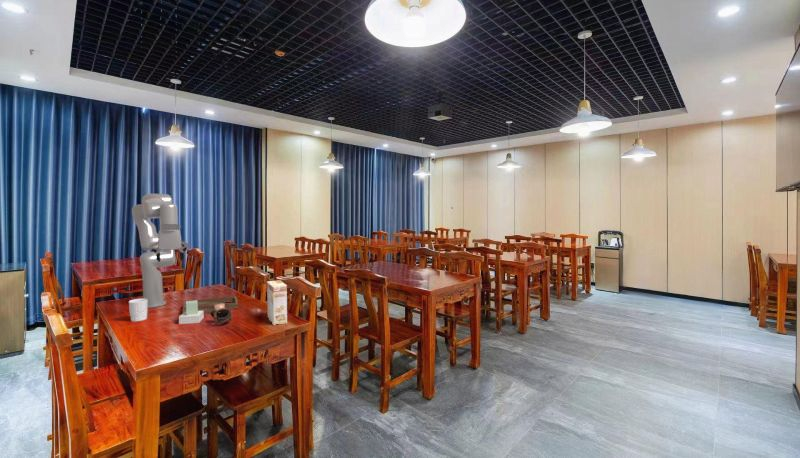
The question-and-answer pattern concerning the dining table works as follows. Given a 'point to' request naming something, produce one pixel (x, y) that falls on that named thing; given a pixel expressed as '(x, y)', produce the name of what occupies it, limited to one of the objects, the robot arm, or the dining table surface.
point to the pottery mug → (221, 315)
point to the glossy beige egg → (219, 306)
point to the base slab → (191, 318)
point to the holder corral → (214, 301)
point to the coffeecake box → (277, 302)
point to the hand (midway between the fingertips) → (170, 260)
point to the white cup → (138, 309)
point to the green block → (191, 307)
